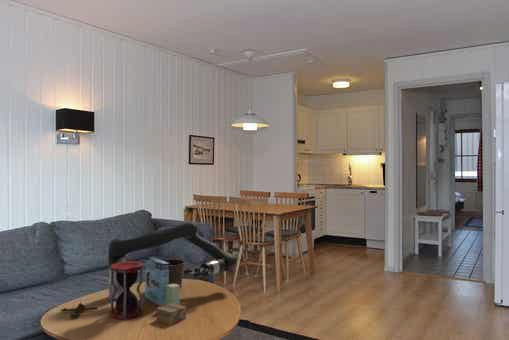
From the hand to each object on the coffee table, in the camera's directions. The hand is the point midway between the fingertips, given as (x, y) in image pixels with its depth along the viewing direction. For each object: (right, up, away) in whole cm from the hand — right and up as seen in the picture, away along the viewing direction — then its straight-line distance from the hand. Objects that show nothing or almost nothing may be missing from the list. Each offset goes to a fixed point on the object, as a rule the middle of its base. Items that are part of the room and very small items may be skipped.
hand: (189, 273), depth 228 cm
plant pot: (-15, -16, +27) cm, 35 cm away
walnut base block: (-5, -16, -25) cm, 30 cm away
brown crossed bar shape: (-54, -16, -18) cm, 59 cm away
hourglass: (-29, -16, -18) cm, 38 cm away
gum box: (-19, -16, +2) cm, 25 cm away
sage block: (-7, -16, -9) cm, 20 cm away
